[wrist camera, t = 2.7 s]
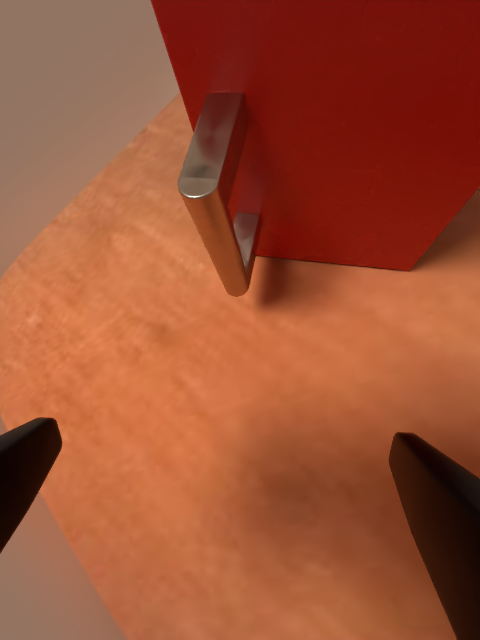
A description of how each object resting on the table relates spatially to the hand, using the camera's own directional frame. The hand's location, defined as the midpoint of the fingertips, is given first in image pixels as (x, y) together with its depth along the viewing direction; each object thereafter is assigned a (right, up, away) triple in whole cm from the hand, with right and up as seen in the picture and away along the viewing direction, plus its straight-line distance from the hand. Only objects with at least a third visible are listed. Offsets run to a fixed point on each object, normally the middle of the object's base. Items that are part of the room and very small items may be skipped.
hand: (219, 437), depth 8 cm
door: (+6, +6, +14) cm, 17 cm away
